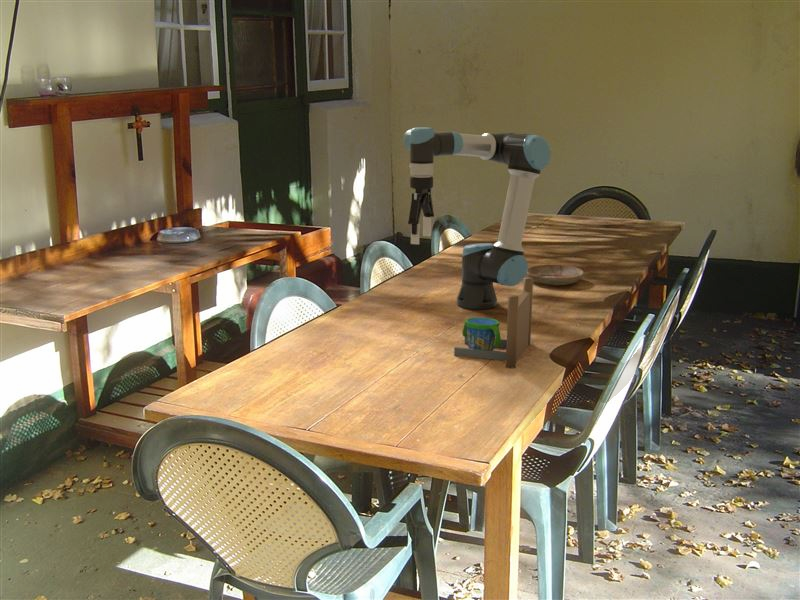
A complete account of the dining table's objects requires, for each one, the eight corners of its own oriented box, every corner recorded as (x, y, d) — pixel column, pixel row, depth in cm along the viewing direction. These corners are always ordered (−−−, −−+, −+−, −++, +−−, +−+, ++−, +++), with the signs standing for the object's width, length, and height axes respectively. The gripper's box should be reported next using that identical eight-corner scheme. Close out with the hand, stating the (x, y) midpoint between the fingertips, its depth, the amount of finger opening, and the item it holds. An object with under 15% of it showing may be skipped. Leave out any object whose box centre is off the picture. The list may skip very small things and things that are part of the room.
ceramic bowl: (515, 278, 391) (515, 267, 390) (563, 273, 400) (563, 262, 399) (544, 291, 370) (545, 279, 369) (594, 286, 379) (595, 274, 378)
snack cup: (508, 356, 290) (510, 324, 288) (481, 359, 285) (483, 327, 283) (479, 345, 304) (481, 314, 302) (452, 348, 298) (454, 317, 296)
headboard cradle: (470, 336, 311) (471, 272, 305) (531, 342, 305) (533, 277, 299) (448, 361, 286) (450, 292, 280) (514, 368, 280) (517, 298, 274)
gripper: (421, 170, 315) (421, 232, 321) (398, 180, 292) (398, 246, 298) (443, 171, 313) (442, 233, 319) (421, 181, 290) (421, 248, 296)
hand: (421, 240), depth 308 cm, fingers open, 13 cm apart
